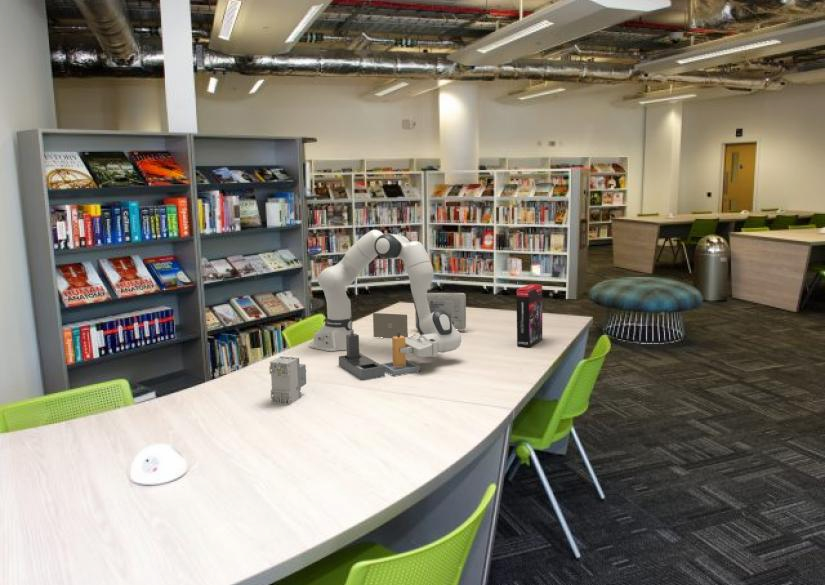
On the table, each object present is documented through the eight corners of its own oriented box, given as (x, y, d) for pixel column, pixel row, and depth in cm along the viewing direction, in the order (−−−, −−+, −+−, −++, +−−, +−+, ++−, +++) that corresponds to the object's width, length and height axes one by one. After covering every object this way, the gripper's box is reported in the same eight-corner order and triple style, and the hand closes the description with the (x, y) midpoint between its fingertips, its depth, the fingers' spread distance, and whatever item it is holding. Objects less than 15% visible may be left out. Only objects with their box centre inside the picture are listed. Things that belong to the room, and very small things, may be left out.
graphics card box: (529, 348, 297) (530, 290, 292) (515, 346, 301) (515, 289, 296) (542, 340, 311) (543, 284, 307) (529, 338, 315) (530, 283, 310)
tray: (380, 368, 269) (380, 363, 269) (406, 364, 275) (406, 359, 275) (393, 376, 259) (393, 371, 259) (419, 371, 265) (419, 366, 264)
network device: (466, 330, 335) (465, 292, 331) (465, 334, 326) (465, 295, 323) (416, 330, 337) (416, 292, 334) (415, 334, 329) (414, 295, 325)
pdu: (338, 365, 275) (338, 356, 275) (360, 362, 280) (360, 352, 279) (362, 380, 255) (361, 370, 254) (384, 376, 259) (384, 366, 259)
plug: (392, 365, 267) (392, 331, 265) (402, 363, 269) (401, 329, 267) (396, 367, 264) (395, 332, 262) (405, 365, 266) (405, 331, 264)
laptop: (415, 334, 328) (415, 309, 326) (407, 340, 317) (407, 314, 314) (382, 332, 334) (381, 308, 332) (373, 338, 322) (372, 312, 320)
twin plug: (347, 362, 274) (345, 329, 272) (356, 360, 276) (355, 328, 274) (350, 364, 272) (348, 330, 269) (359, 362, 274) (358, 329, 271)
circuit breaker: (309, 392, 242) (307, 353, 239) (289, 404, 229) (287, 363, 226) (291, 390, 244) (289, 351, 242) (271, 402, 231) (269, 362, 228)
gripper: (414, 332, 280) (385, 336, 274) (438, 342, 262) (408, 347, 256) (414, 346, 281) (386, 350, 275) (438, 357, 263) (408, 362, 257)
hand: (397, 349), depth 265 cm, fingers closed on plug, 3 cm apart
